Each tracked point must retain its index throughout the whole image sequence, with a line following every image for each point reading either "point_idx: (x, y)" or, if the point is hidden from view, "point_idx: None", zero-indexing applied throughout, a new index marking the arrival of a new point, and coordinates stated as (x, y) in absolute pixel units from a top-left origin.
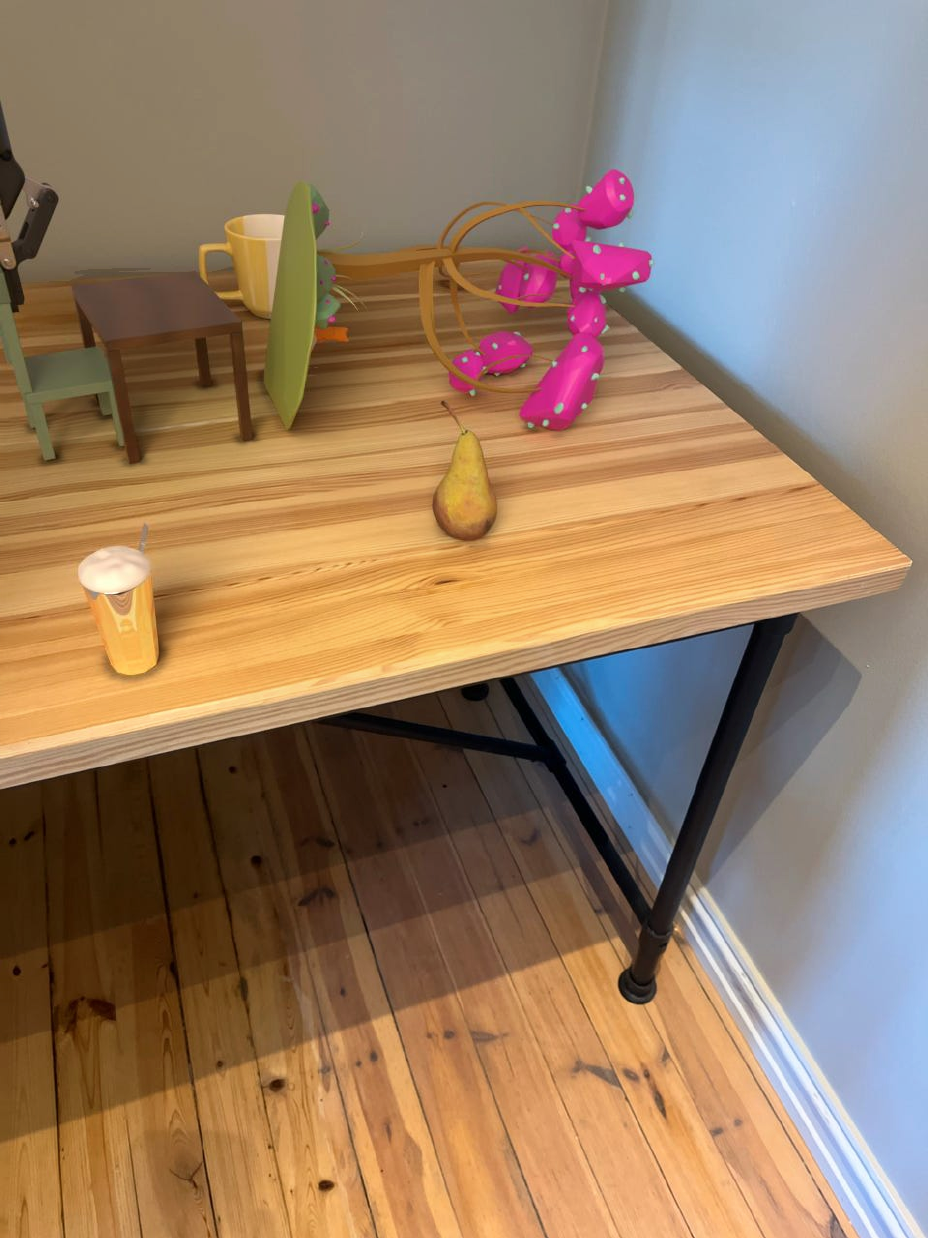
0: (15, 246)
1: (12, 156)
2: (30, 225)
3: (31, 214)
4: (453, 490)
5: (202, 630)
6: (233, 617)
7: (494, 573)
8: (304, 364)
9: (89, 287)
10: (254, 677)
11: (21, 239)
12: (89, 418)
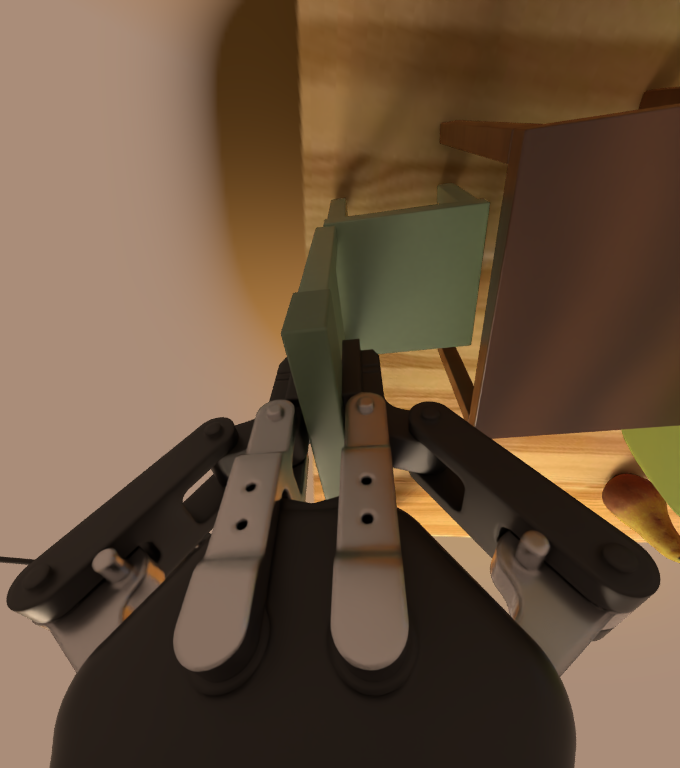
0: (400, 466)
1: None
2: (461, 525)
3: (487, 526)
4: (629, 525)
5: (414, 504)
6: (433, 501)
7: (596, 508)
8: (668, 496)
9: (564, 169)
10: (425, 529)
11: (424, 452)
12: (416, 193)
